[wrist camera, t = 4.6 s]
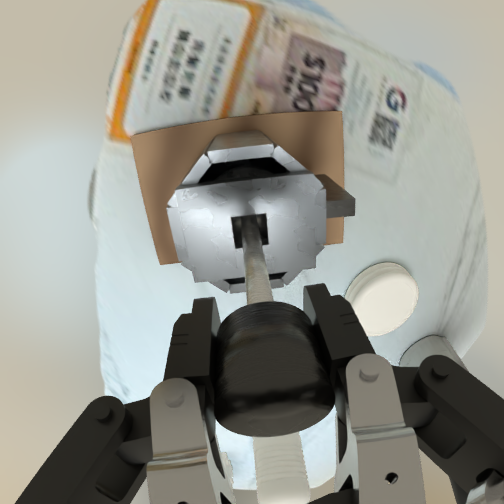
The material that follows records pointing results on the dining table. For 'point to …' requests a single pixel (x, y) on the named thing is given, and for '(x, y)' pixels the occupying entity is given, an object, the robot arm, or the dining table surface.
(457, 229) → the dining table surface
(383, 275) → the white jar lid
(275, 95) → the dining table surface
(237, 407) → the plunger
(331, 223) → the board
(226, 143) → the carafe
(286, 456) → the water bottle
